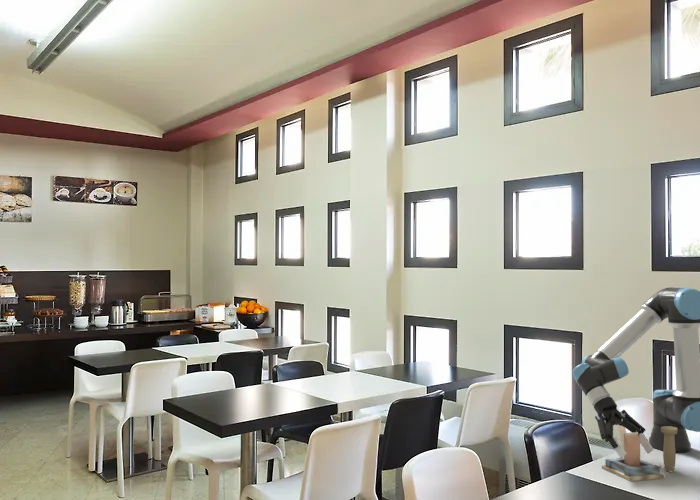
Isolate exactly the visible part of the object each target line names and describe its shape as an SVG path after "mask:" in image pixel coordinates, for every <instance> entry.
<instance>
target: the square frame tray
mask: <svg viewBox="0 0 700 500" xmlns="http://www.w3.org/2000/svg"><path fill="white" fill-rule="evenodd" d="M604 464H605V465H601V469H603V470H604V471H607V472H610V473H611V474H613V475H616V476H617V477H620V478H622V479H624V480H627V481H629V482H638V481H644V480H645V481H646V480H647V481H648V480H657V479H664V478H665V474H663V473H661V465H660V466H659V465H657V464H652V463H649V462H647V461H645V460H642V459H640V466H635V467H630V466H628V465H625V464H624V457H623V458H620V457H618V458H616V457H615V458H606V459H605V463H604Z"/></svg>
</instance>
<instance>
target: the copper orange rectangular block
mask: <svg viewBox="0 0 700 500" xmlns="http://www.w3.org/2000/svg"><path fill="white" fill-rule="evenodd" d="M623 449H624V450H625V452H626V453H627V454H626V455H625V456H624V457H623V458H624V464H625V465H628V466H630V467H635V466H640V460H641V444H640V435H638V433H637V432H625V433H624V434H623Z"/></svg>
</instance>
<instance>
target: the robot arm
mask: <svg viewBox="0 0 700 500" xmlns="http://www.w3.org/2000/svg"><path fill="white" fill-rule="evenodd" d="M665 319H668V320H667V321H668V324H669V325H670V326H671V327H672V329H673V330H672V331H673V332H672V333H673V348H674V350H673V351H674V366H675V368H674V369H675V383H676V384H675V385H676V389H655V390H654V391H653V395H652V403H653V404H652V407H653V408H652V414H653V417H652V418H653V419H652V420H653V421H652V422H653V423H652V424H653V426H652V428H651V433H650V436H649V438H648V437H646V436H645V434H644V433H645V432H646V428H645V427H644V426H643V425H641V424H640V423H639V422H638V421H637V420H636V419H634V418H633V417H632V416H631V415H630V414H629V413H628V412H627V411H626V410H625V409H622V410H621V411H619V410H618V409H617V407H618V405H617V402H615V400H614V399H613V397H611V394H610V393H609V391H608V390H607V389H606V387H605V386H604V385H607V384H609V383H613V382H615V381H617V380H621V379H623V378H625V377H626V376H628V374H629V371H630V370H629V367H628V365H627V363H626V361H625V360H624V359H623V358H622V357H621V356H622V355H624V354H625V353H626V351H628V350H629V349H630V348H631V347H632V346H633V345H634V344H635V343H636V342H637V341H638V340H639V339H641V338H642V337H643V336H644V335H645V334H646V333H647V332H648V331H650V329H651V328H653V326H654V325H656V324H661V323H662V321H663V322H664V321H665ZM699 328H700V290H698V289H695V288H691V287H672V286H671V287H664V288H662V289H660V290H658V291H656V293H654V294H653V295H652V296H650V297H649V298H648V299H647V300H646V301H645V302H643V304H642V305H641V306H640V310H639V311H638V312H637V313H636V314H634V316H633V317H631V318H630V319H629V321H627V322H626V323H625V324H624V325H623V326H622V327H621V328H620V329H618V331H616V332H615V333H614V335H612V337H610V338H609V339H608V340H607V341H606V342H605V343H603V345H602V346H601V347H600V348H598V349H597V351H595V352H594V353H593V354H589V355H586V356H584V357H583V359H582V360H581V363H580V364H578V365H577V366H575V367H574V368H573V369H572V373H571V375H572V377H573V379H574V381H575V382H576V384H577V385H578V387H579V388H580V390H581V391H582V392H583V394H584V395H585V397H586V398H587V400H588V401H589V403H590V405H592V407H593V409H594V411H595V412H596V415H595V416H594V419H595V420H596V421H597V425H598V430H599V434H600V438H601V440H603V441H605V442H606V443H609V444H610V446H611V447H612V448H613V449H614V451H615V452H616V454H617V455H618V456H619V457H618V458H624V456H625V455H626V454H627V453H626V452H625V450H624V446H622V445H621V443H620V442H619V440H618V438H617V437H616V436H614V426H620V427H623V428H624V429H626V430H628V431H629V432H630V433H632V432H637V433H638V435H640V446H642V447H643V450H644V451H645V452H646V453H647V454H650V453H651V452H652V451H654V450H655V449H656V450H660V451H663V448H664V433H662V432H661V427H663V426H672V427H676V428H677V429H678V431H677V434H675V435H674V439H675V453H687V452H690V451H691V450H692V446H691V442H690V440H689V436H688V432H687V431H691V432H695V433H700V333H699Z"/></svg>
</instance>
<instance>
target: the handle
mask: <svg viewBox="0 0 700 500" xmlns="http://www.w3.org/2000/svg"><path fill="white" fill-rule="evenodd" d="M677 431H678V429H677V428H676V427H672V426H663V427H661V432H662V433H664V448H663V450H662V451H663V452H662V455H663V456H662V459H663V467H664V470H665V472H669V473H671V472H673V473H674V472H675V470H676V468H675V467H676V457H677V456H676V453H677V452H675V439H674V435H675V434H677Z"/></svg>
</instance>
